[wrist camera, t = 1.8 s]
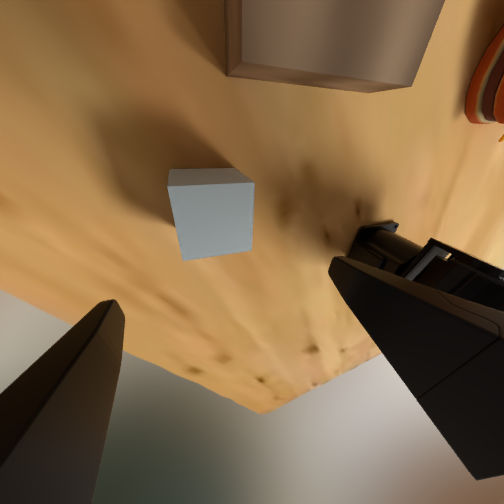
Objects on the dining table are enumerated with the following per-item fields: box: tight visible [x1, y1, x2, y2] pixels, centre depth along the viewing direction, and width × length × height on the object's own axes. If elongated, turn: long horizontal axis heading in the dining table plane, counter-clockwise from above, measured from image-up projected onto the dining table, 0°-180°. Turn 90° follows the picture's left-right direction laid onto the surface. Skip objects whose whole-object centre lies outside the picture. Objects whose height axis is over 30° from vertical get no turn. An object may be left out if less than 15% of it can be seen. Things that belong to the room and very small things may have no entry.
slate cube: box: [167, 168, 255, 261], centre depth 14 cm, size 5×5×5 cm
